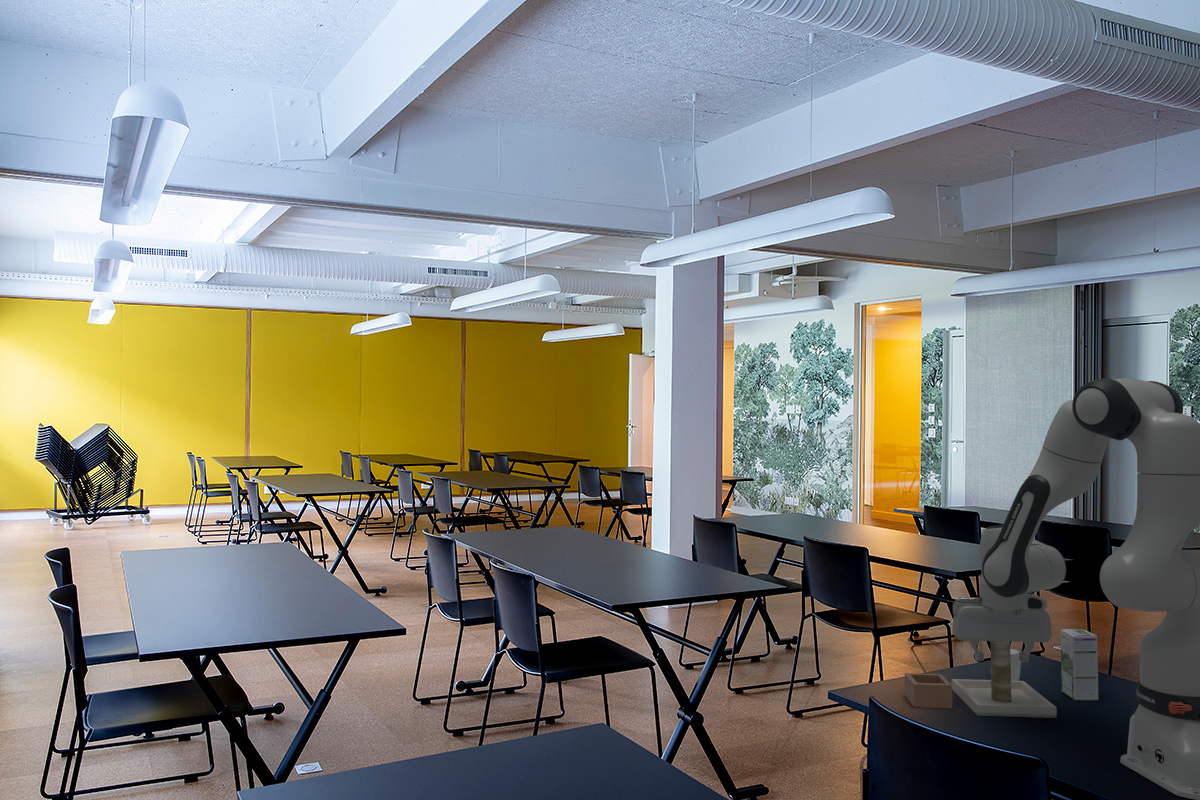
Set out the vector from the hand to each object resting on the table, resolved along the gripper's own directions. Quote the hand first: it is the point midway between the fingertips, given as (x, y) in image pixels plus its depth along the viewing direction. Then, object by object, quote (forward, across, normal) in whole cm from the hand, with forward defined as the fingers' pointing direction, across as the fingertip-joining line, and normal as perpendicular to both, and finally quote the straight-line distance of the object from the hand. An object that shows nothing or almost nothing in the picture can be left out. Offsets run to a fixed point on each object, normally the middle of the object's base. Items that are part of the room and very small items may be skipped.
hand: (1001, 660), depth 196 cm
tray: (+9, 0, 0) cm, 9 cm away
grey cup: (+9, +7, +17) cm, 21 cm away
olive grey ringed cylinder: (+8, 0, 0) cm, 9 cm away
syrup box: (+9, +19, +6) cm, 22 cm away
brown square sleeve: (+9, -16, -1) cm, 18 cm away
